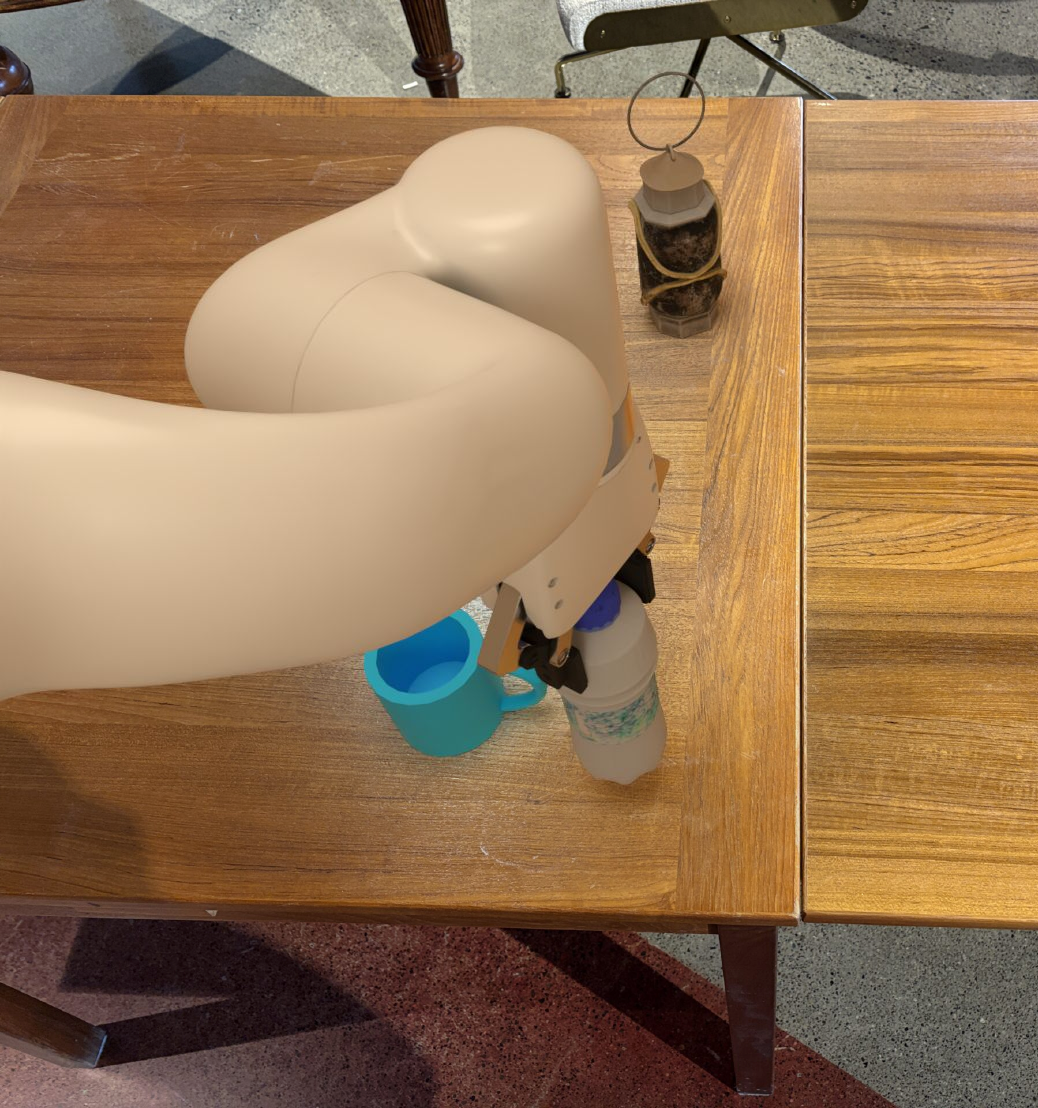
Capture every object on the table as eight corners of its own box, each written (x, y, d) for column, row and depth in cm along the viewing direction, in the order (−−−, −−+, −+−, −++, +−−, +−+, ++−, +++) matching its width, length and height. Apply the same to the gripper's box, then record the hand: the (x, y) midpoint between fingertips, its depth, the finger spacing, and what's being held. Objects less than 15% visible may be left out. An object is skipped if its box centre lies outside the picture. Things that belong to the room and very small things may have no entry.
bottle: (617, 689, 76) (578, 516, 60) (692, 739, 74) (673, 572, 57) (554, 760, 73) (495, 597, 57) (630, 814, 70) (592, 660, 54)
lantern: (709, 277, 107) (695, 35, 87) (741, 328, 103) (734, 86, 83) (628, 302, 106) (594, 61, 85) (657, 354, 101) (629, 114, 81)
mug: (385, 754, 78) (349, 703, 71) (411, 657, 83) (379, 600, 76) (547, 761, 77) (526, 709, 71) (564, 662, 82) (546, 605, 75)
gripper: (590, 276, 52) (627, 507, 67) (347, 517, 43) (450, 722, 58) (722, 327, 50) (730, 554, 64) (493, 592, 41) (562, 786, 56)
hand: (597, 632), depth 61 cm, fingers closed on bottle, 6 cm apart
